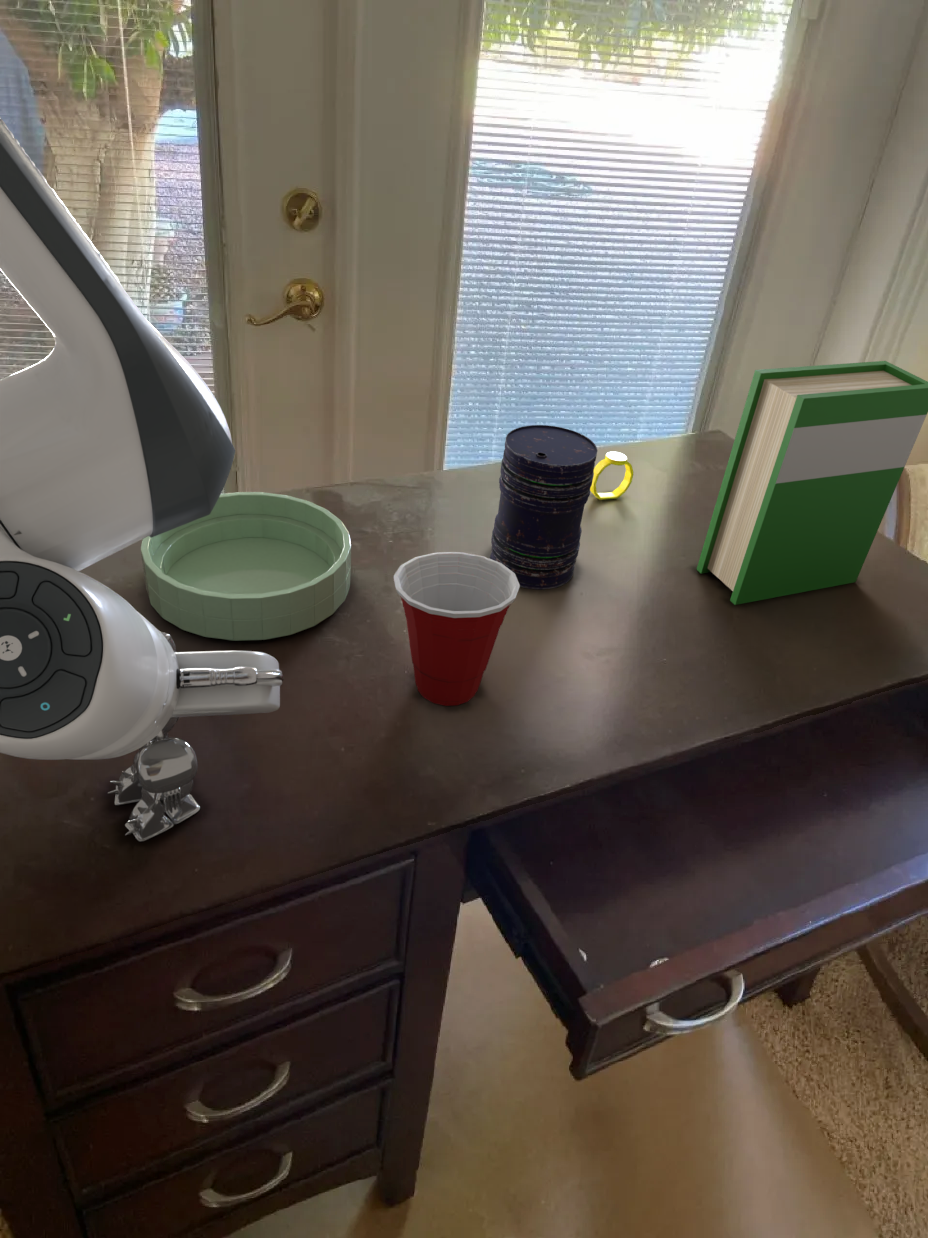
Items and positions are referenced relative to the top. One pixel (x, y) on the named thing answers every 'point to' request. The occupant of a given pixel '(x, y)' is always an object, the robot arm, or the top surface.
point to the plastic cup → (453, 619)
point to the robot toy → (159, 782)
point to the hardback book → (811, 476)
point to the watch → (609, 459)
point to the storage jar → (542, 503)
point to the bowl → (250, 568)
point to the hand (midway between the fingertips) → (138, 697)
